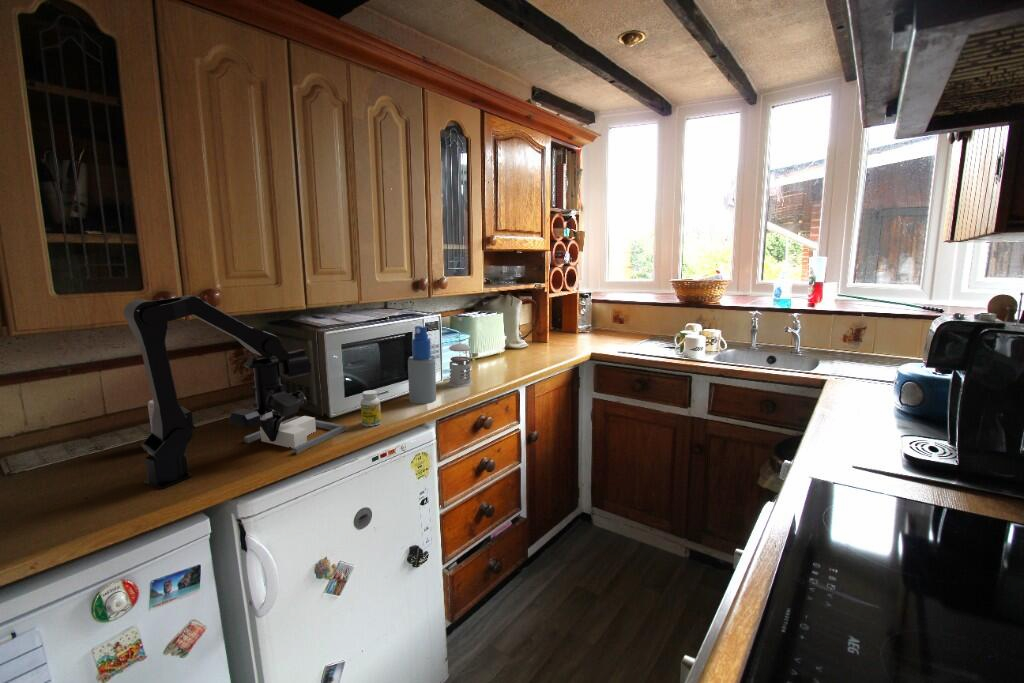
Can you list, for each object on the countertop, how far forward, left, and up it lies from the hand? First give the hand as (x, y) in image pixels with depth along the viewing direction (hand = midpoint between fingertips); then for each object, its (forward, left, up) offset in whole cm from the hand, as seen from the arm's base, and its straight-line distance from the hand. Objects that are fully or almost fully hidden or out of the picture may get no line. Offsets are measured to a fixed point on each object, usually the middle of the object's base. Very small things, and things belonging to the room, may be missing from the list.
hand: (272, 441), depth 124 cm
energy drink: (-10, +26, -2) cm, 28 cm away
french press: (+72, -15, -2) cm, 73 cm away
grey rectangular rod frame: (+8, 0, -2) cm, 8 cm away
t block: (+7, 0, -2) cm, 7 cm away
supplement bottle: (+24, -12, -2) cm, 27 cm away
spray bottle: (+49, -13, -2) cm, 50 cm away
